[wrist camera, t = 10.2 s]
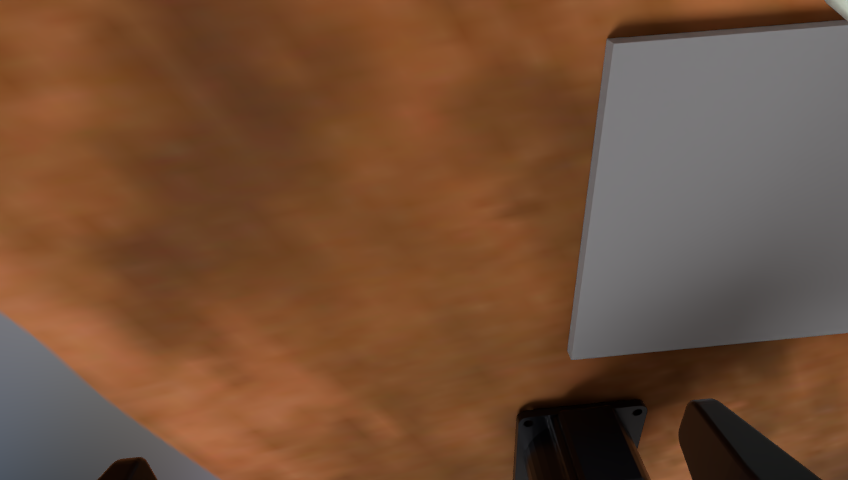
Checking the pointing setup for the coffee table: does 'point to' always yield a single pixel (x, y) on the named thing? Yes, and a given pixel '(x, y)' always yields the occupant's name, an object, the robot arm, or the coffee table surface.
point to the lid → (839, 7)
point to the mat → (716, 192)
